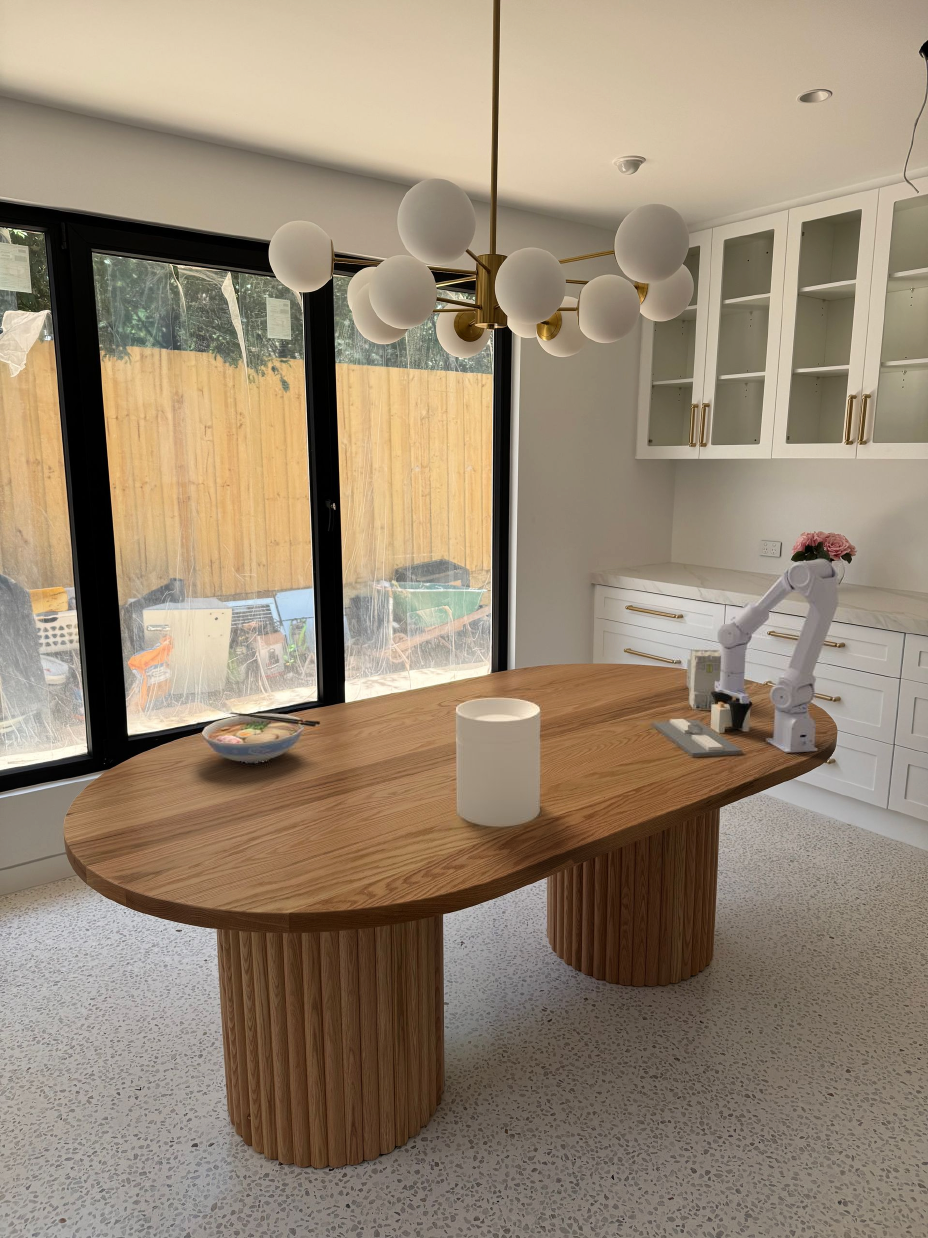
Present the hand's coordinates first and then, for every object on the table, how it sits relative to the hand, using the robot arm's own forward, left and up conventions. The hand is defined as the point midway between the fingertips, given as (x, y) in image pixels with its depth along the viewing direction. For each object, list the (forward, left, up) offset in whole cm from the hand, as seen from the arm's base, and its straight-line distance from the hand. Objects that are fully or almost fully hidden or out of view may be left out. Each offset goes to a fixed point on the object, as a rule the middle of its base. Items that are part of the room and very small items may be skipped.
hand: (729, 723), depth 206 cm
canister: (-39, +67, -2) cm, 78 cm away
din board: (-6, +12, -1) cm, 13 cm away
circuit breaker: (+24, -4, -2) cm, 24 cm away
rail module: (0, 0, -2) cm, 2 cm away
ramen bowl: (-1, +116, -2) cm, 116 cm away
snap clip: (-6, +12, +1) cm, 13 cm away
